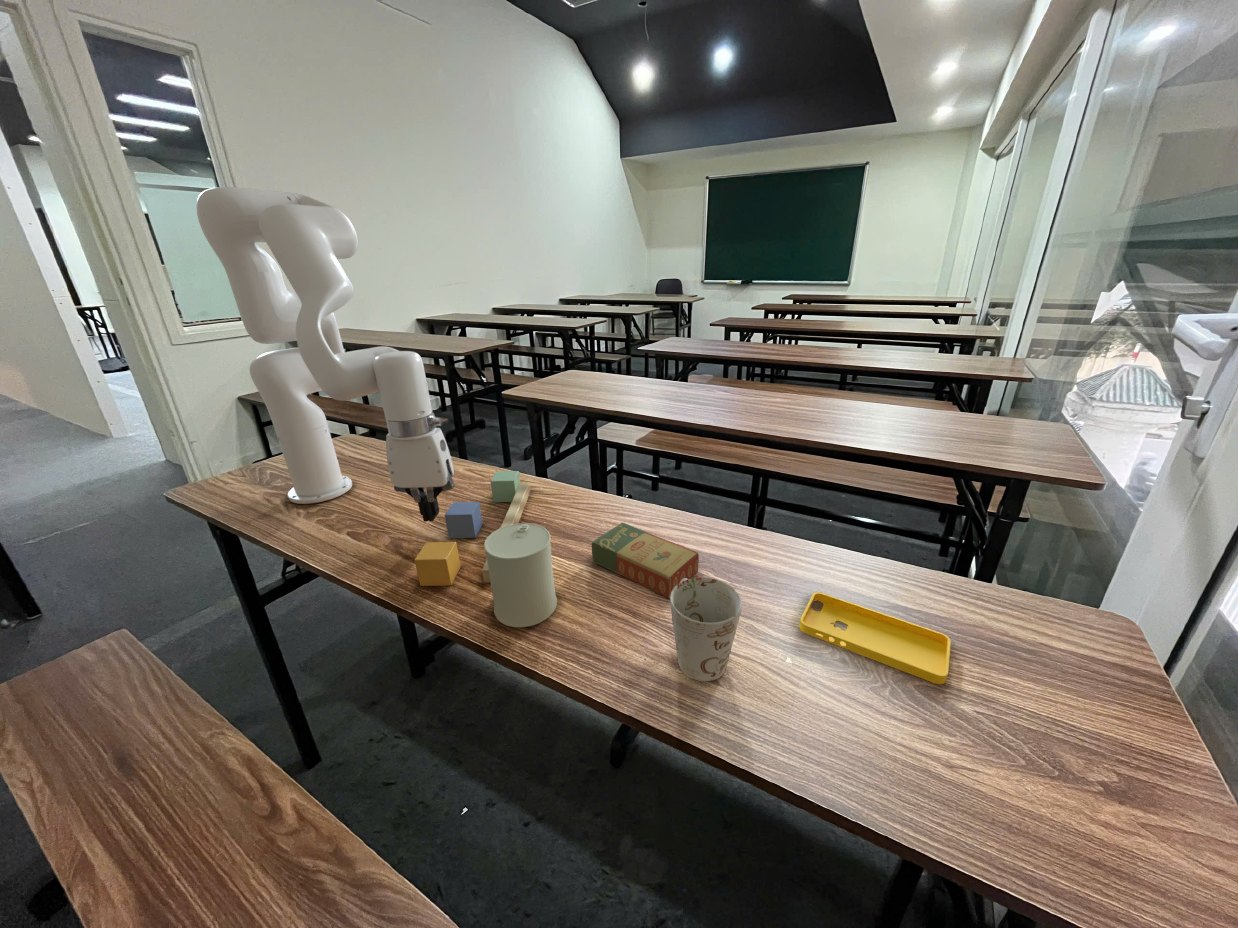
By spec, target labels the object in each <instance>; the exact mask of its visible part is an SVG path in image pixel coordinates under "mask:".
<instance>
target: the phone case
mask: <svg viewBox="0 0 1238 928" xmlns="http://www.w3.org/2000/svg"><path fill="white" fill-rule="evenodd" d="M815 601H816V602H820V603H821V604H823V605H822V607H821V609H820V610H814V609H812V608H811V606H812V604H813V602H815ZM836 622H841V623H842V624H845V625H846V626H847V627H846V629H841V628H840V627H838V626H835V625H836ZM798 628H799V631H801V632H802V633H804V634H806V635H807V636H811V637H814V638H816V639H818V640H822V641H824V642H826V643H829V644H831V645H834V646H836V647H839V648H842V649H844V650H847V651H850V652H852V653H855V654H857V655H860V656H863V657H865V658H868V659H871V660H873V661H876V662H878V663H881V664H884V665H886V666H889V667H891V668H894V669H896V670H899V671H901V672H903V673H907V674H910V675H912V676H915V677H917V678H920V679H923V680H924V681H927V682H930V683H932V684H934V685H935V684H936V685H944V684H945V683H946V682H947V678H948V675H949V671H950V656H951V646H952V645H951V644H952V640H951V638H950V637H949V636H948V635H946V634H945V633H942V632H940V631H937V630H934V629H931V628H928V627H925V626H922V625H919V624H916V623H913V622H910V621H907V620H904V619H901V618H898V617H896V616H893V615H889V614H887V613H884V612H881V611H877V610H874V609H871V608H868V607H866V606H863V605H860V604H857V603H854V602H851V601H849V600H848V601H847V600H845V599H842V598H839V597H836V596H834V595H833V596H832V595H829V594H827V593H824V592H820V591H816V592H815V591H814V592H813V593H812V595H810V598H809V601H808V603H807V604H806V606H805V608H804V610H803V613H802V614H801V617H800V619H799V624H798Z"/></svg>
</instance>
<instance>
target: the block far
mask: <svg viewBox="0 0 1238 928" xmlns="http://www.w3.org/2000/svg"><path fill="white" fill-rule="evenodd" d="M520 483H521V478H520V471H519V470H506V471H505V470H504V471H503V470H501V471H500V470H499V471H495V473H494V474H493V475H492V478H491V479H490V489H491V494H492V501H493V503H512V500H513V498H514V496H515V494H516V491H517V489H518V487H519V484H520Z"/></svg>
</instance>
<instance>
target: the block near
mask: <svg viewBox="0 0 1238 928" xmlns="http://www.w3.org/2000/svg"><path fill="white" fill-rule="evenodd" d="M413 561H414V566H415V568H416V574H417V577H418V582H419V586H420V587H437V586H452V585H453V583H454V582H455V579H456V577H457V575H458V573H459V572H460V569H461V567H462V566H461V560H460V556H459V550H458V543H457V542H456V541H434V542H433V541H429V542H428V541H427V542H425V543H424V545H423V546H422V548H421V549H420V551H419V552H418V554H417V555H416V557H415V558H414V560H413Z"/></svg>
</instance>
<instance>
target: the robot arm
mask: <svg viewBox="0 0 1238 928" xmlns="http://www.w3.org/2000/svg"><path fill="white" fill-rule="evenodd" d="M195 207H196V216H197V220H198V223H199V226H200V229H201V231H202V233H203V235H204V237H205V239H206V241H207V243H208V244H209V246H210V247H211V249H212V250H213V252H214V253H215V255H216V256H217V258H218V259H219V262H220V263H221V264H222V267H223V269H224V271H225V273H226V275H227V279H228V282H229V286H230V288H231V291H232V294H233V297H234V300H235V303H236V306H237V309H238V313H239V315H240V318H241V322H242V324H243V326H244V328H245V330H246V333H247V334H248V336H249V337H250V338H251V339H252V340H253V341H254V342H256V343H259V344H262V345H263V344H264V345H274V344H275V345H276V344H282V343H283V344H284V343H290V342H291V343H292V342H296V344H297V347H290V348H284V349H278V350H272V351H268V352H264V353H261V354H260V355H258V356H256V357H254V359H253V360H252V361H251V363H250V365H249V375H250V378H251V380H252V382H253V384H254V386H255V388H256V389H257V391H258V393H259V395H260V397H261V399H262V401H263V403H264V405H265V407H266V409H267V412H268V414H269V417H270V420H271V423H272V426H273V428H274V432H275V434H276V439H277V440H278V443H279V446H280V450H281V453H282V456H283V459H284V462H285V464H286V468H287V470H288V475H289V477H290V480H291V483H292V486H293V487H292V488H291V489H290V490H289V491H288V493H287V498H288V500H289V501H290V502H291V503H293V504H297V505H298V504H299V505H310V504H317V503H323V502H326V501H329V500H332V499H336V498H339V497H341V496H342V495H344V494H346V493H347V492H349V491H350V490H351V489H352V487H353V481H352V479H351V478H350V477H349V476H347V475H343V474H342V471H341V468H340V464H339V460H338V456H337V453H336V449H335V446H334V442H333V439H332V434H331V431H330V428H329V424H328V421H327V417H326V415H325V412H324V411H323V410H322V408H321V407H320V406H318V405H317V404H316V403H315V402H313V401H312V400H310V399H309V398H308V395H310V394H314V393H317V392H323V393H324V394H325V395H326V396H328V397H330V398H331V399H333V400H335V401H341V402H342V401H343V402H344V401H350V400H354V399H358V398H362V397H366V396H369V395H373V394H377V393H378V394H379V397H380V402H381V406H382V409H383V414H384V418H385V422H386V426H387V432H388V433H387V434H386V436H385V450H386V451H385V453H386V463H387V469H388V473H389V478H390V481H391V484H392V485H393V490H394V491H395V492H399V493H404V494H407V495H408V496H410V497H411V498H413V501H414V502H415V503H417V506H418V510H419V515H420V516H422V520H423V522H424V523H426V522H434V521H435V519H436V518H437V516H438V515H439V514H440V506H439V502H438V496H439V495H440V494H441V493H443V492H449V491H451V490H453V489H454V487H456V484H455V482H454V479H453V476H454V474H455V469H454V463H453V459H452V456H451V452H450V449H449V446H448V443H447V440H446V438H445V436H444V435H445V434H444V433H443V431H442V429H441V428H440V427H438V426H442V424H443V419H442V417H437V416H435V412H433V408H432V403H431V397H430V392H429V386H428V382H427V377H426V372H425V366H424V362H423V359H422V357H421V355H420V354H419V353H417V352H415V351H412V350H411V351H410V350H398V349H396V348H394V347H390V346H385V345H384V346H381V345H380V346H375V347H369V348H363V349H356V350H350V351H345V349H344V345H343V341H342V336H341V334H340V329H339V325H338V322H337V318H336V315H335V312H336V311H338V310H339V309H341V308H342V307H343V306H345V305H346V304H347V303H349V302H350V300H351V299H352V297H353V296H354V291H355V290H354V285H353V283H352V281H351V280H350V278H349V277H348V275H347V273H346V271H345V270H344V268H343V266H342V264H341V263H340V261H339V260H340V259H341V260H343V259H345V260H346V259H349V258H352V257H353V256H355V255H356V253H357V251H358V248H359V238H358V234H357V231H356V228H355V226H354V225H353V223H352V221H351V219H349V217H348V216H347V215H346V214H345V213H343V212H342V211H341V210H340V209H339V208H337V207H334V206H332V205H330V204H328V203H325V202H323V201H320V200H317V199H315V198H313V197H311V196H308V195H305V194H302V193H297V192H291V191H290V192H288V191H281V190H280V191H278V190H268V189H257V188H251V187H250V188H249V187H234V186H224V187H223V186H218V187H212V188H207V189H204V190H203V191H202V192H201V193H200V194H199V195H198V196H197V199H196V206H195ZM257 243H266V244H267V247H268V248H269V249H270V251H271V253H272V255H273V256H274V258H275V260H274V258H273V257H272V256H271V255H270V254H269V253H268V252H267V251H266V250H265V249H264V248H263V247H262V246H260V245H259V244H257ZM282 272H283V273H282ZM283 274H284V275H285V277H286V279H287V280H288V282H289V284H290V285H291V287H292V289H293V290H289V291H288V289H287V286H286V283H285V280H284V275H283Z"/></svg>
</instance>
